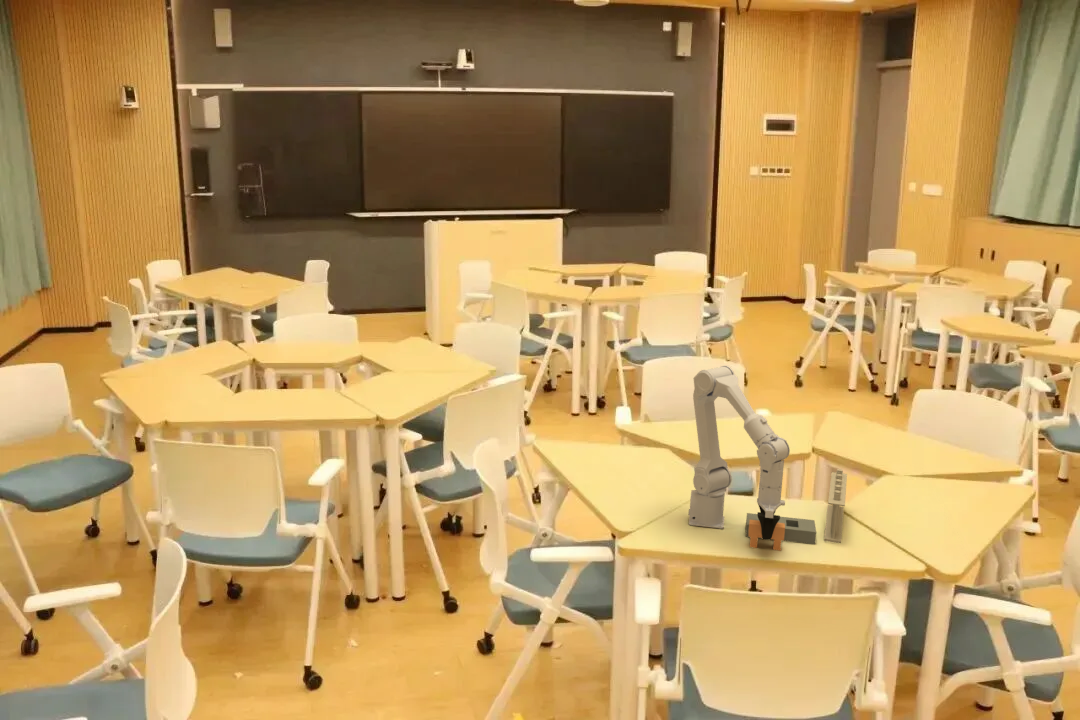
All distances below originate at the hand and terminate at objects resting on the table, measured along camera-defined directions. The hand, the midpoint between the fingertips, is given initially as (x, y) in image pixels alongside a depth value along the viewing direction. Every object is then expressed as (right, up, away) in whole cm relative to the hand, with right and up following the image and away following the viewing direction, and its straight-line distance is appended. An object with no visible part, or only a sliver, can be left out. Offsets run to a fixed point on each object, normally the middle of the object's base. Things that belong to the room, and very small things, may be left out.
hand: (766, 533), depth 239 cm
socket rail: (+6, -2, +9) cm, 11 cm away
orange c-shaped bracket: (0, -4, +1) cm, 4 cm away
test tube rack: (+23, -1, +16) cm, 28 cm away
